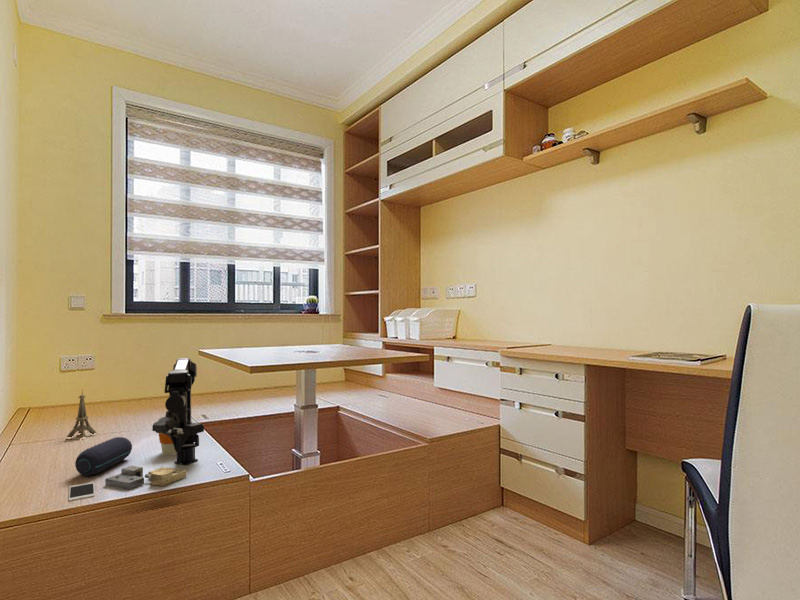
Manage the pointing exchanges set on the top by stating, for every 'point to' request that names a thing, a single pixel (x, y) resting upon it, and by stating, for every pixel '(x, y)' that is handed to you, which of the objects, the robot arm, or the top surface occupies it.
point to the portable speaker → (103, 456)
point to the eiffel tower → (81, 420)
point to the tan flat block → (165, 476)
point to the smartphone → (81, 491)
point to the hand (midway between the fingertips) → (178, 451)
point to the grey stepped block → (127, 478)
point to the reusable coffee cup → (166, 444)
